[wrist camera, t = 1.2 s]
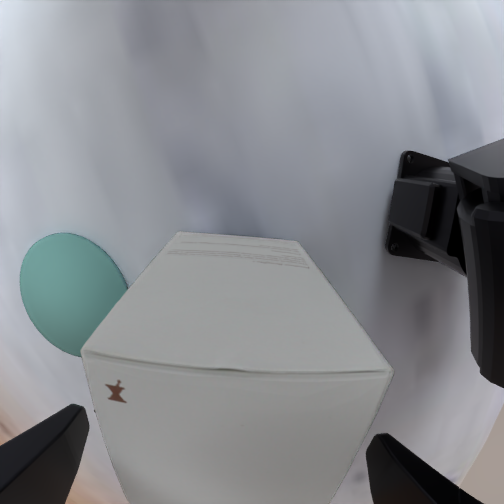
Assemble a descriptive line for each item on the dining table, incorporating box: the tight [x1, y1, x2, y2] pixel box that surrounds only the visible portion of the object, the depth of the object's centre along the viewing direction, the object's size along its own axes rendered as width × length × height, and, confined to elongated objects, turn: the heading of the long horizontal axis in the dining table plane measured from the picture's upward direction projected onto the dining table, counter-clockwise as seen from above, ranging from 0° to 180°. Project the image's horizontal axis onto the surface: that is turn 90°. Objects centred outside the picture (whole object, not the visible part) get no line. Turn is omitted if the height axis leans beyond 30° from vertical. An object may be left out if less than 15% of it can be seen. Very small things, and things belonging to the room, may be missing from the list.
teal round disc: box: [20, 233, 128, 357], centre depth 19 cm, size 9×9×1 cm
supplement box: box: [80, 231, 394, 504], centre depth 13 cm, size 7×7×13 cm
